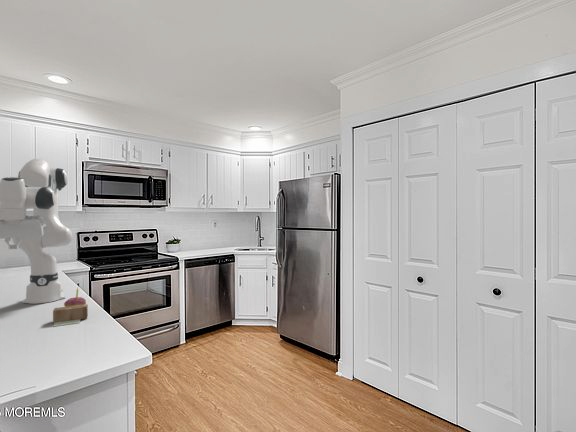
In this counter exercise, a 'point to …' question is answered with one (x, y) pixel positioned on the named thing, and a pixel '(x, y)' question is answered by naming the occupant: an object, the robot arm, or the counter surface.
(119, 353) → the counter surface
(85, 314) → the block
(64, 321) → the mat
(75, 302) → the cupcake
